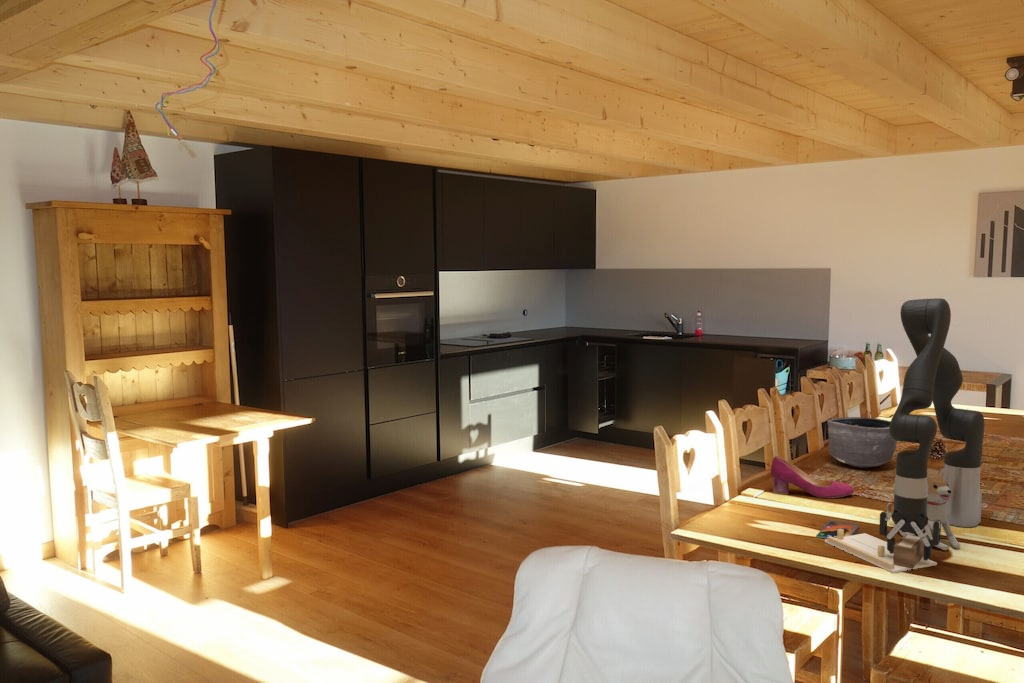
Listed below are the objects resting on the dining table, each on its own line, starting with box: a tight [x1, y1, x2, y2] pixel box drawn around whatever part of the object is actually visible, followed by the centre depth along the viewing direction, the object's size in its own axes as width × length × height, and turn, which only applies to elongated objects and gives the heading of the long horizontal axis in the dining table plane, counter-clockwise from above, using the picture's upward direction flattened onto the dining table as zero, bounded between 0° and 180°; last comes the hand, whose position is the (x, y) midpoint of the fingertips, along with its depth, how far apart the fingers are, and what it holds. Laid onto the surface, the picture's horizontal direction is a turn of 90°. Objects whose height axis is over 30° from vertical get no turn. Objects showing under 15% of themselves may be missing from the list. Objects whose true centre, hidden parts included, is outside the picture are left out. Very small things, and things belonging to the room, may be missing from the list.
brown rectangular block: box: [893, 534, 925, 570], centre depth 204 cm, size 11×4×5 cm, turn 140°
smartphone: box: [815, 520, 859, 540], centre depth 228 cm, size 8×1×15 cm
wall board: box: [824, 529, 938, 574], centre depth 211 cm, size 14×24×3 cm, turn 20°
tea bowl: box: [826, 416, 898, 469], centre depth 300 cm, size 25×22×17 cm
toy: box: [886, 467, 961, 551], centre depth 222 cm, size 10×24×20 cm, turn 16°
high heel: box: [770, 455, 855, 499], centre depth 264 cm, size 26×9×12 cm, turn 68°
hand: (908, 556), depth 204 cm, fingers open, 7 cm apart
